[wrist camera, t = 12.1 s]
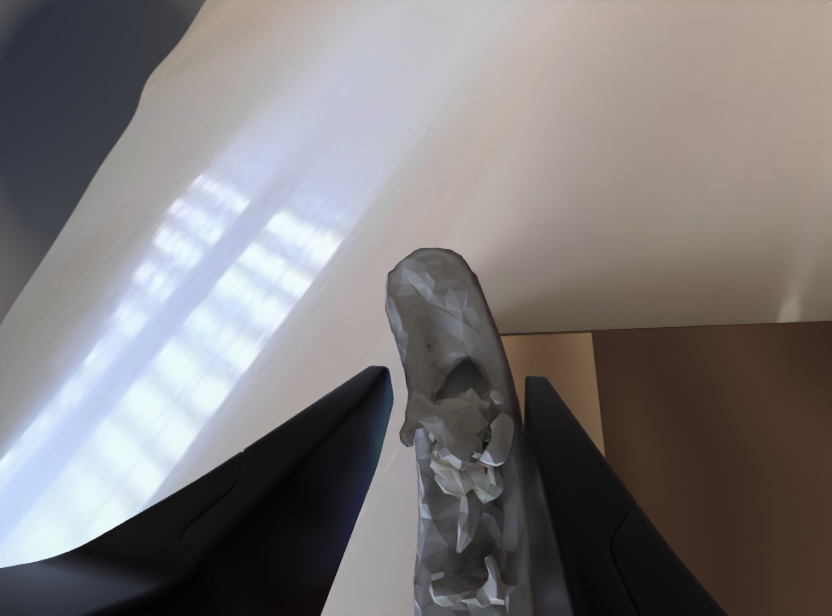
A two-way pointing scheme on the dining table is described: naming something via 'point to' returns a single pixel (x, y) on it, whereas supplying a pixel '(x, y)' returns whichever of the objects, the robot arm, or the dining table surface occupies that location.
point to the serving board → (712, 445)
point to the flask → (461, 442)
